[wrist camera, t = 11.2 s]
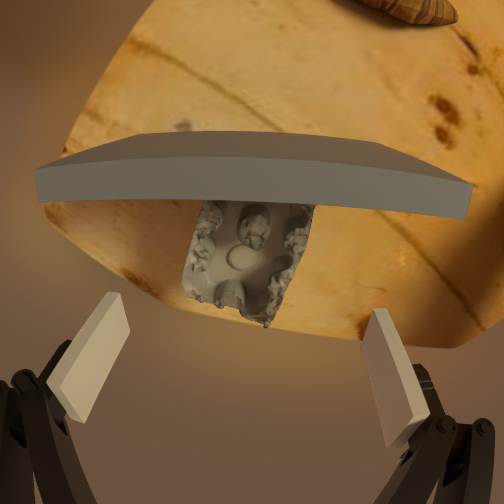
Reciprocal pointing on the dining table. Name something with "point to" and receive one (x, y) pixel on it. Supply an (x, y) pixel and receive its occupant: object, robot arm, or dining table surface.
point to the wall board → (255, 172)
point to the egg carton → (246, 255)
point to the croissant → (417, 10)
